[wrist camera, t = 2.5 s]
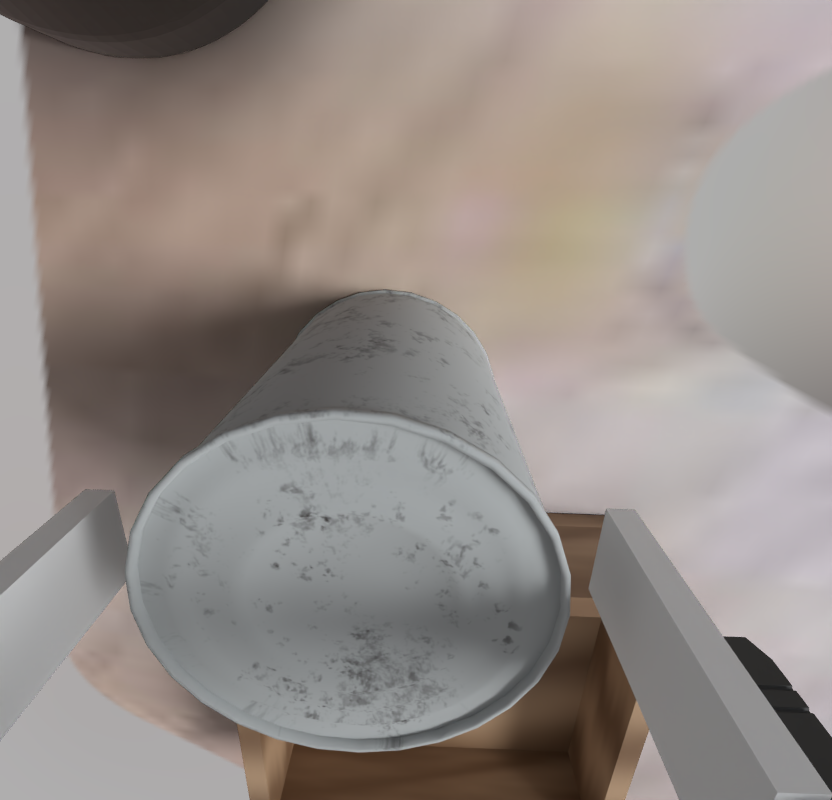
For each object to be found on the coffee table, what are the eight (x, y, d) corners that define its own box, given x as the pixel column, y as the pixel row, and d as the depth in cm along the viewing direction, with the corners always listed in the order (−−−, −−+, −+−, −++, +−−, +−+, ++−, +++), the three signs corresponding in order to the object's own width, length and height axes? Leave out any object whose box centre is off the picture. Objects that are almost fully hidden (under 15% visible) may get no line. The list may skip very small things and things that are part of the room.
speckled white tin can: (255, 438, 23) (84, 680, 11) (329, 249, 19) (191, 322, 8) (435, 513, 24) (445, 792, 13) (534, 349, 21) (667, 532, 9)
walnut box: (257, 501, 24) (212, 583, 19) (636, 516, 24) (693, 602, 19) (283, 734, 31) (256, 838, 26) (576, 745, 31) (606, 852, 26)
